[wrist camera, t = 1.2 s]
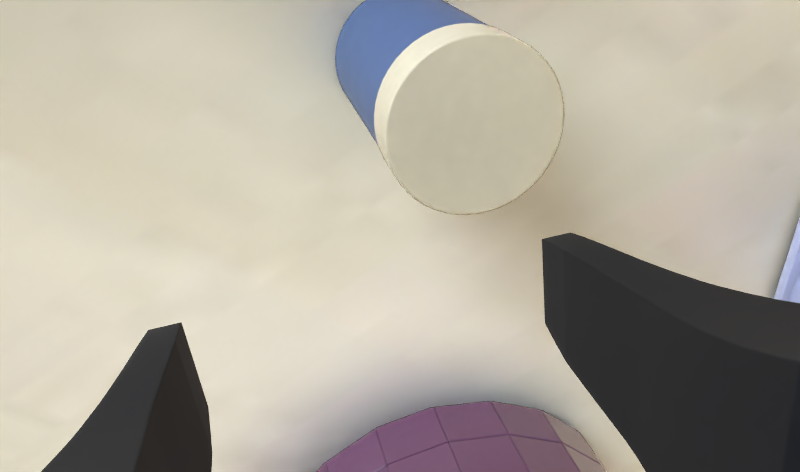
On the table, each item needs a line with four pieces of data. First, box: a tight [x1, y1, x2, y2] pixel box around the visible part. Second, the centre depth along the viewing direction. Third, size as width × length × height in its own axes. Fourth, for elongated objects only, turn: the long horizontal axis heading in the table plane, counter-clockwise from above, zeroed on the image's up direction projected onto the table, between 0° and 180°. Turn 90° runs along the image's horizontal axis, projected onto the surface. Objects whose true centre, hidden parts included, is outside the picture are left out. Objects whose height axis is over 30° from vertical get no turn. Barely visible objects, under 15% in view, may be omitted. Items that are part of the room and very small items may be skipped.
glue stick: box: [335, 0, 564, 215], centre depth 19 cm, size 4×4×7 cm
